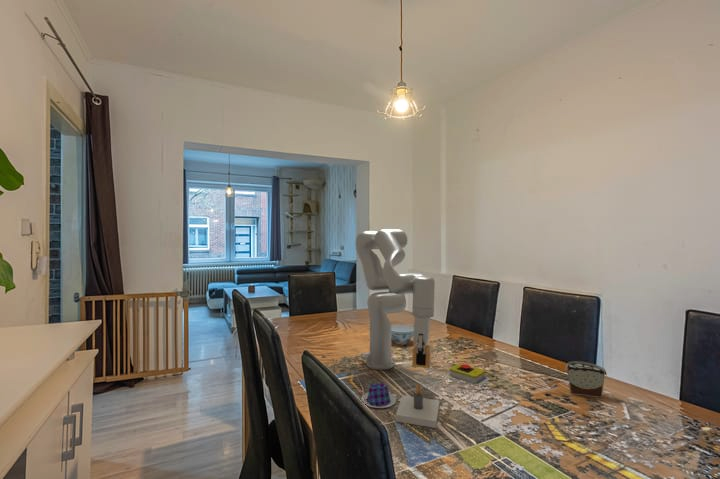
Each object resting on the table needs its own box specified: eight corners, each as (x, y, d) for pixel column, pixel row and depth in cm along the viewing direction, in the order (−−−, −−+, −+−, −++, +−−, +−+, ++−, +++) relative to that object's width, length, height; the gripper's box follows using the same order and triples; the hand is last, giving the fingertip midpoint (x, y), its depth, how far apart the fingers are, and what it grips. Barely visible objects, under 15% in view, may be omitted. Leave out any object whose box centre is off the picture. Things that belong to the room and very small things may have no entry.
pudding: (387, 391, 119) (387, 376, 119) (402, 407, 108) (402, 391, 108) (356, 395, 115) (356, 381, 115) (367, 412, 104) (368, 396, 104)
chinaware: (381, 340, 179) (381, 326, 179) (405, 337, 185) (405, 323, 185) (396, 348, 165) (396, 333, 165) (420, 344, 172) (420, 329, 172)
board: (395, 421, 99) (395, 391, 99) (402, 401, 111) (402, 374, 111) (436, 428, 95) (436, 397, 95) (439, 406, 108) (439, 379, 108)
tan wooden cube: (412, 365, 115) (412, 349, 115) (414, 359, 121) (414, 343, 121) (429, 368, 114) (430, 351, 113) (431, 361, 119) (431, 345, 119)
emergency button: (457, 358, 140) (491, 368, 129) (456, 369, 140) (491, 379, 129) (445, 364, 134) (480, 375, 123) (445, 375, 134) (480, 387, 123)
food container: (600, 390, 119) (600, 363, 119) (606, 398, 113) (606, 369, 113) (561, 385, 123) (561, 359, 123) (565, 392, 117) (565, 365, 117)
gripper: (415, 305, 126) (414, 351, 127) (408, 316, 110) (407, 369, 110) (435, 306, 124) (434, 353, 124) (431, 318, 107) (430, 372, 108)
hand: (421, 360), depth 117 cm, fingers closed on tan wooden cube, 5 cm apart
